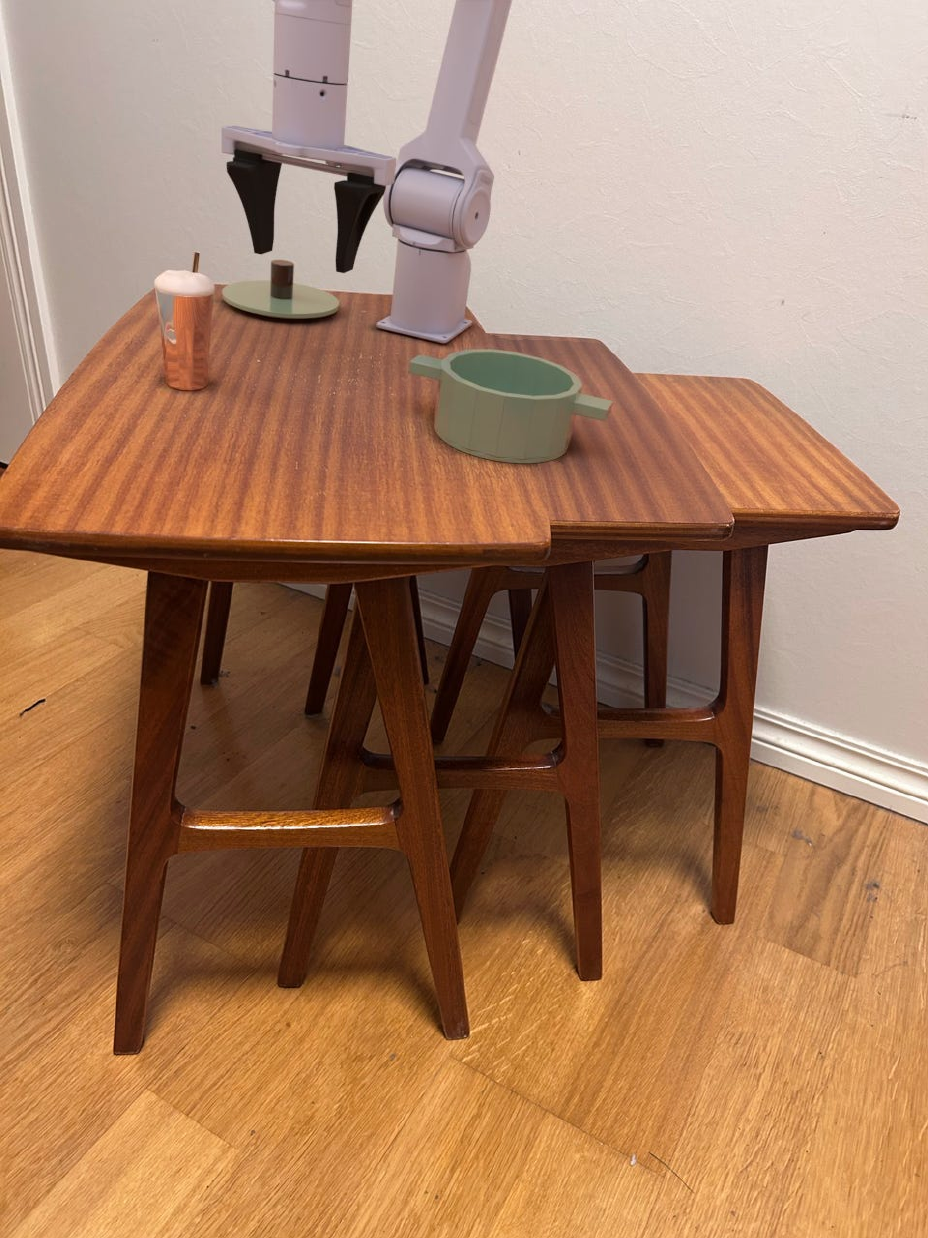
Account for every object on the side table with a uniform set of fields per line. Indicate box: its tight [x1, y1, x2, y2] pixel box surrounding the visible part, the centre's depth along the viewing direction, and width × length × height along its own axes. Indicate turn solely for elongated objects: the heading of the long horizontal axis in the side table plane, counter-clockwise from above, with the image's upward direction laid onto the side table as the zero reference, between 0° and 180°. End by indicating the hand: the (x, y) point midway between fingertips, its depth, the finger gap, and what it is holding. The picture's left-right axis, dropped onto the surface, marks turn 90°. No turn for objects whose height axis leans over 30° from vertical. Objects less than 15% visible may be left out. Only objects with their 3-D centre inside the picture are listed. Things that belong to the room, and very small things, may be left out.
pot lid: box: [221, 259, 340, 320], centre depth 98 cm, size 12×12×5 cm
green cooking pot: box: [407, 348, 613, 464], centre depth 76 cm, size 11×17×5 cm
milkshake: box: [153, 251, 216, 391], centre depth 75 cm, size 4×5×10 cm
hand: (303, 261), depth 79 cm, fingers open, 7 cm apart
